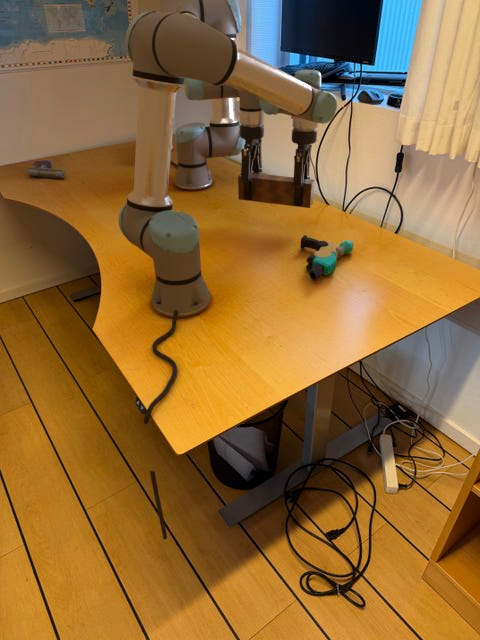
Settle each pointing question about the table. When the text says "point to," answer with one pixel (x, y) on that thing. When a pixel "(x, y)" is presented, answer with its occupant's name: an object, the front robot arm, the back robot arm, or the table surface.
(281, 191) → the bar
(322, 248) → the toy gun
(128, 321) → the table surface
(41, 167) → the toy gun
